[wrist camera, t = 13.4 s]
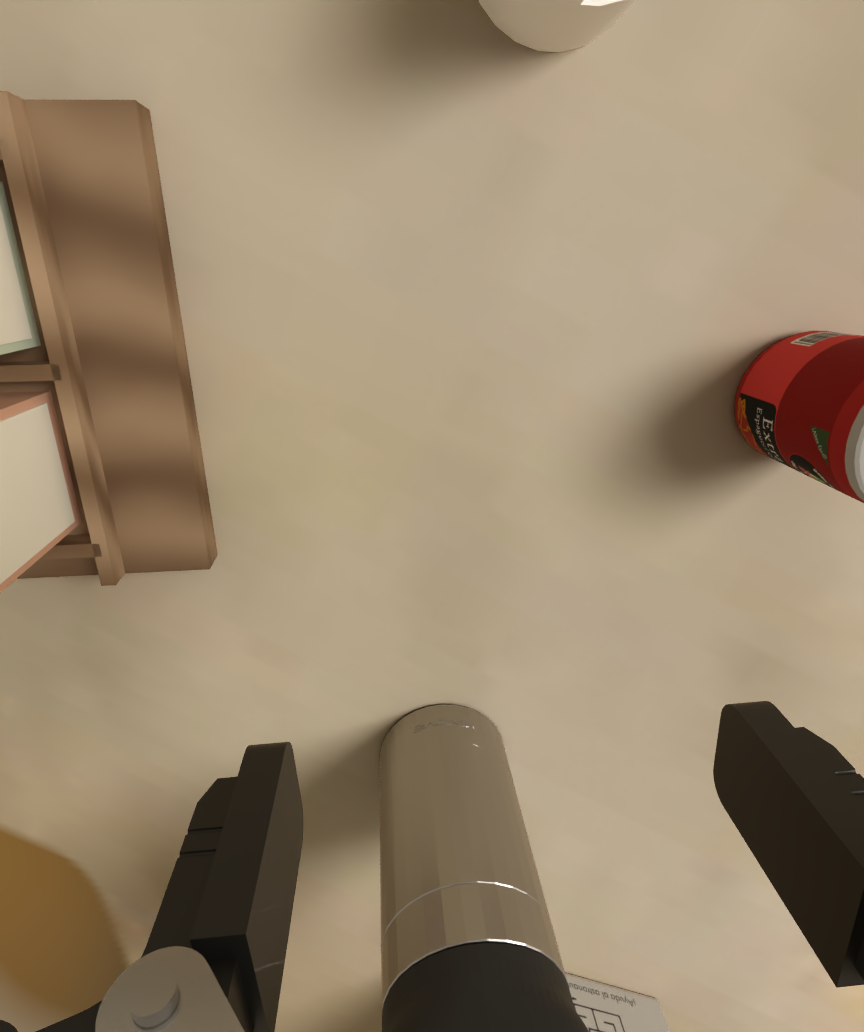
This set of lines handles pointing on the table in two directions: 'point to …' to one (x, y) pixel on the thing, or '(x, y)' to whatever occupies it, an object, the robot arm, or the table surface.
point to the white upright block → (555, 21)
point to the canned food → (809, 407)
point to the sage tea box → (13, 291)
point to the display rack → (106, 335)
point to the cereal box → (614, 1008)
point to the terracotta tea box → (32, 482)
